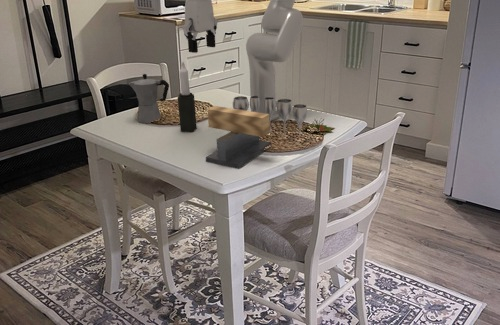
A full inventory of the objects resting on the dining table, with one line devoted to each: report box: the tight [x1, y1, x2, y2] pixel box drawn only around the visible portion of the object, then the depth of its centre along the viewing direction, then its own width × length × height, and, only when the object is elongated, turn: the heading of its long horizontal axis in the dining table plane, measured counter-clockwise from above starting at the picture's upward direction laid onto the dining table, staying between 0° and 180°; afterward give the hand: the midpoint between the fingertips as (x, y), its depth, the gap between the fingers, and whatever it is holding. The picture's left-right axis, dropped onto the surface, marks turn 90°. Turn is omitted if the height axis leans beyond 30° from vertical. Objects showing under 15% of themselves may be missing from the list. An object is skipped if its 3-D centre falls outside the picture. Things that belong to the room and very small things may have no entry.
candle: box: [177, 61, 198, 133], centre depth 178 cm, size 5×5×25 cm
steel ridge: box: [205, 131, 272, 170], centre depth 159 cm, size 20×12×8 cm, turn 149°
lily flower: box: [306, 118, 335, 136], centre depth 178 cm, size 12×12×5 cm
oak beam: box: [207, 105, 269, 138], centre depth 156 cm, size 20×4×6 cm, turn 59°
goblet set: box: [232, 95, 308, 138], centre depth 173 cm, size 28×6×13 cm, turn 60°
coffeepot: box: [128, 73, 170, 124], centre depth 191 cm, size 15×9×18 cm, turn 87°
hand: (202, 49), depth 163 cm, fingers open, 9 cm apart
